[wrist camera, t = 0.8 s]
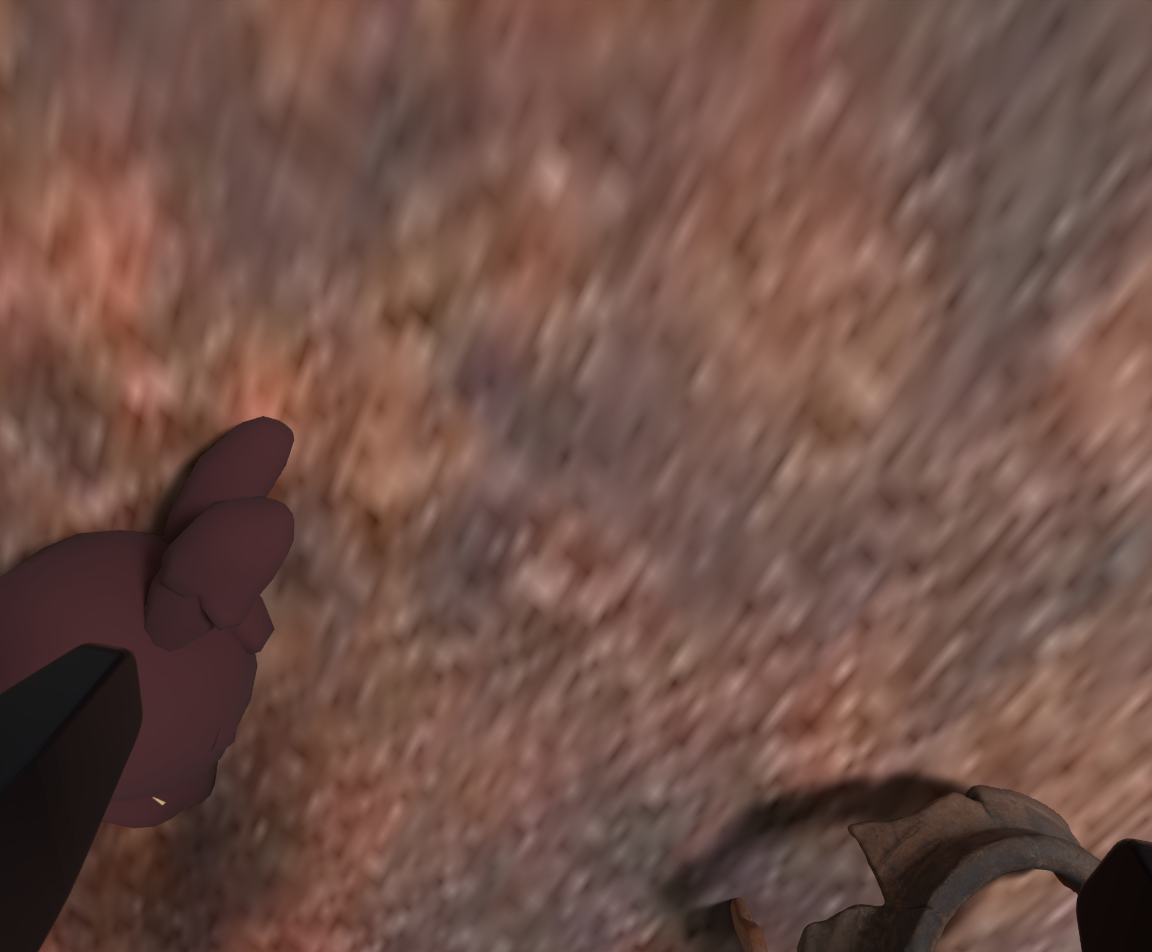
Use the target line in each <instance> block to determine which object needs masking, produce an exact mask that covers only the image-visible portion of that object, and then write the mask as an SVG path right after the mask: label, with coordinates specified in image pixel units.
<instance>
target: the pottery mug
mask: <svg viewBox="0 0 1152 952" xmlns="http://www.w3.org/2000/svg"><path fill="white" fill-rule="evenodd" d="M848 831H849V833H850V834H851V835H852V836H853V837H855V838H856V839H857V841H858V843H859V845H860V847H861V848H862V850H863V852H864V854H865V856H866V858H867V861H868V864H869V866H870V867H871V869H872V871H873V873H874V875H875V877H876V879H877V882H878V884H879V886H880V889H881V891H882V894H883V897H884V900H885V904H884V905H883V906H871V905H863V904H859V905H853V906H851V907H848V908H847V909H845V910H843V911H841V912H839V913H837V914H835V915H834V916H832V917H831V918H829V919H827V920H825V921H820V922H814V923H811V924H809V925H807V926H806V927H805V928H804V930H803V933H802V935H801V938H800V941H799V943H798V946H797V952H934V951H935V947H936V944H937V942H938V941H939V939H940V937H941V935H942V933H943V930H944V927H945V926H946V925H947V924H948V922H949V919H951V918H952V917H953V915H954V914H955V913H956V911H957V910H958V909H959V907H960V906H961V905H962V904H964V903H965V902H966V900H967V899H968V898H970V897H971V896H972V895H973V894H974V893H975V892H976V891H977V890H979V889H980V888H981V887H983V886H984V885H985V884H986V883H988V882H989V881H991V880H993V879H995V878H997V877H998V876H1000V875H1002V874H1004V873H1008V872H1011V871H1016V870H1020V869H1029V868H1034V869H1042V870H1049V871H1052V872H1053V873H1054V874H1055V875H1056V876H1057V878H1058V879H1059V880H1060V882H1061V883H1062V884H1063V885H1064V886H1066V887H1068V888H1070V889H1072V891H1073V892H1076V893H1077V894H1078V893H1079V891H1080V888H1081V886H1082V885H1083V883H1084V882H1085V881H1086V879H1087V878H1088V877H1089V876H1090V874H1091V873H1092V872H1093V871H1094V870H1095V868H1096V867H1097V866H1098V865H1099V863H1100V862H1101V860H1099V859H1097V858H1096V857H1095V856H1093V855H1092V854H1091V853H1090V852H1088V851H1086V850H1085V849H1084V848H1082V847H1081V846H1080V844H1079V842H1078V840H1077V839H1076V838H1075V837H1074V835H1073V834H1072V832H1071V830H1070V828H1069V826H1068V824H1067V823H1066V822H1065V820H1064V819H1063V818H1062V817H1061V816H1060V815H1059V814H1057V813H1056V812H1055V811H1054V810H1052V809H1051V808H1049V807H1048V806H1046V805H1044V804H1042V803H1040V802H1039V801H1037V800H1035V799H1032V798H1030V797H1029V796H1026V795H1024V794H1021V793H1017V792H1014V791H1011V790H1006V789H999V788H993V787H989V786H984V785H978V786H973V787H972V788H970V789H969V790H968V792H967V794H966V796H964V795H962V794H960V793H957V792H951V793H948V794H945V795H943V796H940V797H938V798H936V799H934V800H932V801H931V802H930V803H929V804H928V805H926V806H924V807H922V808H921V809H918V810H916V811H915V812H913V813H911V814H910V815H908V816H906V817H903V818H899V819H896V820H891V821H887V822H878V821H869V822H861V823H857V824H851V825H849V826H848ZM730 910H731V915H732V920H733V924H734V927H735V931H736V933H737V936H738V938H739V940H740V942H741V945H742V947H743V951H744V952H767V947H766V943H765V938H764V934H763V931H762V929H761V928H760V927H759V926H758V925H757V924H756V923H755V922H753V921H752V917H751V914H750V911H749V909H748V907H747V905H746V903H745V902H744V901H743V900H742V899H741V898H735V899H732V901H731V904H730Z"/></svg>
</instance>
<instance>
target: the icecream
mask: <svg viewBox="0 0 1152 952" xmlns="http://www.w3.org/2000/svg"><path fill="white" fill-rule="evenodd" d="M293 442H294V435H293V432H292V430H291V429H290V428H289V427H288V426H286V425H285V424H284V423H282V422H280V421H278V420H275V419H272V418H268V417H264V416H263V417H259V418H256V419H253V420H249V421H246V422H243V423H241V424H239V425H238V426H236V427H235V428H234V429H232V430H231V431H230V432H229V433H228V434H227V435H225V436H224V437H223V438H222V439H221V440H220V441H218V442H217V443H216V444H215V445H214V446H213V447H211V448H210V449H209V450H208V451H207V452H206V453H204V454H203V455H202V456H201V457H200V458H199V459H198V461H197V462H196V464H195V466H194V468H193V469H192V471H191V473H190V475H189V476H188V478H187V480H186V482H185V483H184V485H183V487H182V489H181V490H180V492H179V494H178V496H177V497H176V499H175V501H174V503H173V504H172V507H171V510H170V513H169V517H168V520H167V524H166V527H165V531H164V534H163V536H160V535H154V534H148V533H143V532H133V531H122V530H117V531H105V532H93V533H80V534H76V535H74V536H72V537H69V538H67V539H64V540H62V541H60V542H57V543H55V544H53V545H50V546H48V547H45V548H43V549H41V550H40V551H38V552H37V553H35V554H34V555H33V556H31V557H30V558H28V559H27V560H25V561H24V562H22V563H21V564H20V565H18V566H17V567H15V568H14V569H12V570H11V571H9V572H8V573H7V574H5V575H4V576H2V577H1V578H0V693H2V692H3V691H5V690H6V689H8V688H10V687H11V686H13V685H15V684H16V683H18V682H19V681H21V680H23V679H24V678H26V677H28V676H29V675H31V674H32V673H34V672H36V671H37V670H39V669H41V668H42V667H44V666H46V665H47V664H49V663H50V662H52V661H54V660H55V659H57V658H59V657H60V656H62V655H63V654H65V653H67V652H68V651H70V650H72V649H73V648H75V647H77V646H79V645H81V644H84V643H88V642H95V643H101V644H106V645H111V646H117V647H122V648H126V649H129V650H131V651H132V652H133V654H134V655H135V657H136V661H137V667H138V674H139V682H140V690H141V698H142V705H143V719H142V725H141V729H140V732H139V735H138V738H137V740H136V743H135V745H134V747H133V750H132V752H131V754H130V756H129V759H128V761H127V763H126V766H125V768H124V770H123V773H122V775H121V777H120V780H119V782H118V784H117V787H116V789H115V791H114V794H113V796H112V798H111V801H110V803H109V805H108V808H107V810H106V812H105V815H104V817H103V819H102V821H104V822H109V823H113V824H118V825H122V826H127V827H131V828H142V827H153V826H157V825H159V824H161V823H163V822H165V821H167V820H169V819H171V818H173V817H174V816H176V815H177V814H178V813H179V812H180V811H182V810H183V809H185V808H188V807H191V806H193V805H196V804H199V803H202V802H203V801H204V800H205V799H206V798H207V797H209V796H210V794H211V792H212V789H213V787H214V785H215V779H216V772H217V765H218V760H219V759H220V758H221V757H222V755H223V753H224V751H225V749H226V748H227V747H228V746H229V745H231V744H232V743H233V742H234V740H235V734H236V728H237V726H238V724H239V722H240V720H241V718H242V716H243V714H244V712H245V710H246V708H247V706H248V704H249V702H250V700H251V695H252V690H253V685H254V680H255V675H256V670H257V661H256V655H255V653H257V652H260V651H261V650H262V648H263V647H264V645H265V643H266V642H267V640H268V638H269V637H270V635H271V634H272V632H273V630H274V627H273V624H272V622H271V619H270V617H269V614H268V612H267V609H266V607H265V604H264V602H263V599H262V598H261V596H260V594H261V593H262V591H263V590H264V589H265V588H266V587H267V585H268V584H269V583H270V582H271V581H272V580H273V578H274V576H275V575H276V573H277V571H278V570H279V568H280V566H281V564H282V563H283V561H284V559H285V558H286V556H287V554H288V552H289V550H290V547H291V545H292V543H293V540H294V518H293V515H292V512H291V511H290V510H289V508H288V507H287V506H286V505H285V504H283V503H281V502H279V501H278V500H274V499H269V498H266V497H267V495H268V494H269V492H270V490H271V489H272V487H273V485H274V484H275V482H276V480H277V479H278V477H279V476H280V474H281V472H282V471H283V469H284V467H285V466H286V463H287V460H288V457H289V454H290V451H291V448H292V445H293Z"/></svg>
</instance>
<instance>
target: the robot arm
mask: <svg viewBox="0 0 1152 952" xmlns="http://www.w3.org/2000/svg"><path fill="white" fill-rule="evenodd" d="M142 719H143V705H142V698H141V690H140V682H139V674H138V667H137V661H136V657H135V655H134V654H133V652H132V651H131V650H129V649H126V648H122V647H117V646H111V645H106V644H101V643H95V642H88V643H84V644H81V645H79V646H77V647H75V648H73V649H72V650H70V651H68V652H67V653H65V654H63V655H62V656H60V657H59V658H57V659H55V660H54V661H52V662H50V663H49V664H47V665H46V666H44V667H42V668H41V669H39V670H37V671H36V672H34V673H32V674H31V675H29V676H28V677H26V678H24V679H23V680H21V681H19V682H18V683H16V684H15V685H13V686H11V687H10V688H8V689H6V690H5V691H3V692H2V693H0V952H38V951H39V950H40V948H41V946H42V944H43V942H44V941H45V939H46V937H47V935H48V934H49V932H50V930H51V928H52V927H53V925H54V923H55V921H56V919H57V917H58V915H59V913H60V912H61V910H62V908H63V906H64V904H65V902H66V900H67V898H68V896H69V894H70V892H71V890H72V888H73V886H74V883H75V881H76V879H77V877H78V875H79V872H80V870H81V868H82V866H83V863H84V861H85V859H86V856H87V854H88V852H89V849H90V847H91V845H92V842H93V840H94V838H95V835H96V833H97V831H98V829H99V826H100V824H101V822H102V819H103V817H104V815H105V812H106V810H107V808H108V805H109V803H110V801H111V798H112V796H113V794H114V791H115V789H116V787H117V784H118V782H119V780H120V777H121V775H122V773H123V770H124V768H125V766H126V763H127V761H128V759H129V756H130V754H131V752H132V750H133V747H134V745H135V743H136V740H137V738H138V735H139V732H140V729H141V725H142ZM1076 914H1077V922H1078V929H1079V935H1080V942H1081V949H1082V952H1152V842H1148V841H1142V840H1137V839H1123V840H1121V841H1119V842H1117V843H1116V844H1115V845H1114V846H1113V847H1112V849H1111V850H1110V851H1109V852H1108V853H1107V855H1106V856H1105V857H1104V858H1103V860H1102V861H1101V862H1100V863H1099V865H1098V866H1097V867H1096V868H1095V870H1094V871H1093V872H1092V873H1091V874H1090V876H1089V877H1088V878H1087V879H1086V881H1085V882H1084V883H1083V885H1082V886H1081V888H1080V891H1079V893H1078V897H1077V903H1076Z"/></svg>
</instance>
